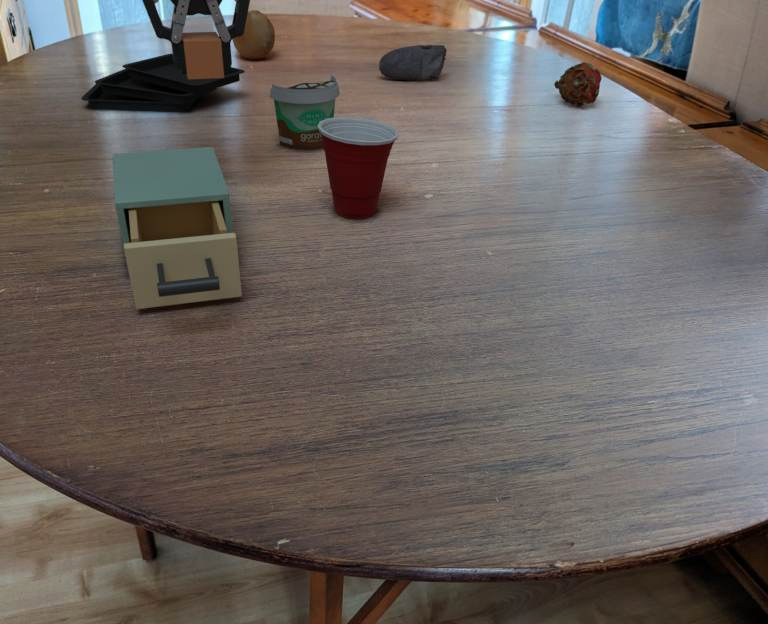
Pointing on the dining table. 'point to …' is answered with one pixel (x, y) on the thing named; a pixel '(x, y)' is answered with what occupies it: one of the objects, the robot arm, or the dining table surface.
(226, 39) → the robot arm
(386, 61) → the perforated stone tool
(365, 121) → the plastic cup
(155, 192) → the cabinet
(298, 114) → the food container
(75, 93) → the dining table surface
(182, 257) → the drawer
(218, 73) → the block
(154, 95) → the tray
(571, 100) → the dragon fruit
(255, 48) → the brown oval lump
